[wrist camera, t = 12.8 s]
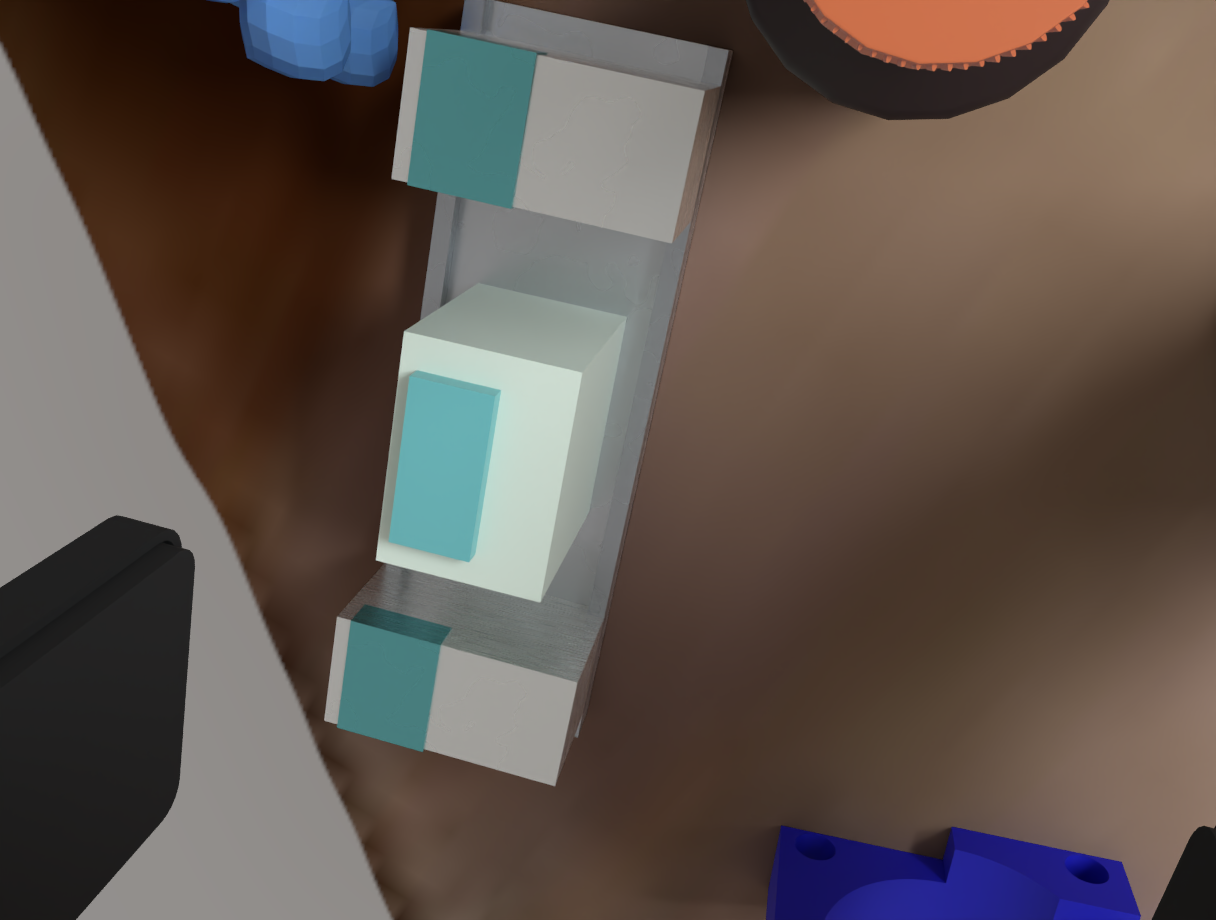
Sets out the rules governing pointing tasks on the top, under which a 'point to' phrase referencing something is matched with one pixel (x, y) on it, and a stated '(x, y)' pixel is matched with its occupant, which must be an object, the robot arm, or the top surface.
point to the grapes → (322, 38)
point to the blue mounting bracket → (943, 881)
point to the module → (497, 438)
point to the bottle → (921, 49)
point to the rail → (553, 269)
